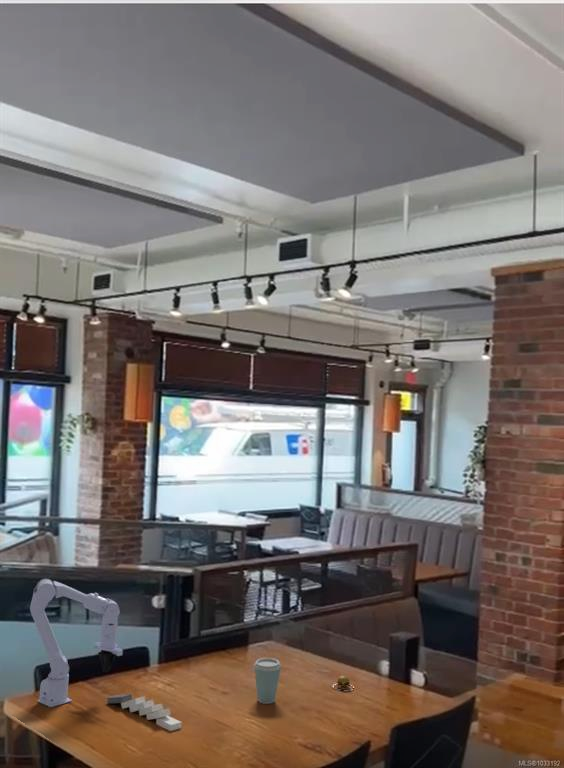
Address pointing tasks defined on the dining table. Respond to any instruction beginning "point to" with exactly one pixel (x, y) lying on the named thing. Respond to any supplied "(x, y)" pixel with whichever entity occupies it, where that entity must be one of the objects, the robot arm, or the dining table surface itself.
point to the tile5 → (158, 714)
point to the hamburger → (343, 683)
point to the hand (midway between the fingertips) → (106, 671)
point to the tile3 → (141, 706)
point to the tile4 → (150, 709)
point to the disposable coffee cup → (267, 679)
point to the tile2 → (133, 702)
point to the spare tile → (119, 698)
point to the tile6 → (168, 723)
